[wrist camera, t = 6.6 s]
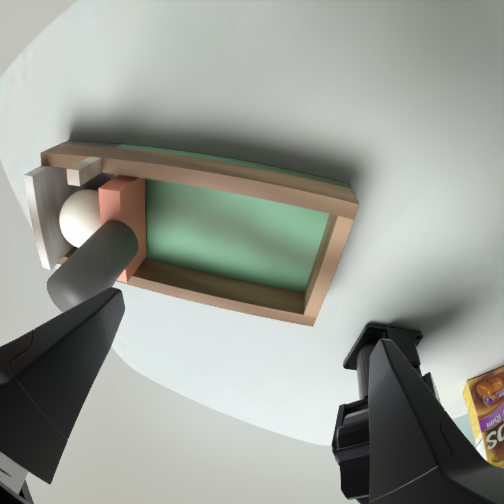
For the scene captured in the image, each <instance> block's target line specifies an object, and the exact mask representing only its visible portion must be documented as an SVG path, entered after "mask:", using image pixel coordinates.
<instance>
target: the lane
mask: <svg viewBox="0 0 504 504" xmlns="http://www.w3.org/2000/svg"><path fill="white" fill-rule="evenodd" d="M41 165H42V166H40V167H38V168H36V169H34V170H32V171H31V172H29V173H27V174H25V175H24V180H25V187H26V194H27V200H28V205H29V211H30V216H31V221H32V226H33V231H34V235H35V239H36V244H37V247H38V251H39V255H40V259H41V263H42V267H44V268H46V269H49V270H51V269H52V268H53V267H54V266H55V265H56V264H57V263H58V264H61V265H62V264H63V263H64V262H65V261H66V260H67V259H68V258H69V257H70V256H71V255H72V254H73V253H74V252H75V251H76V250H77V249H78V247H76V246H74V245H72V244H71V243H69V242H68V241H67V240H66V238H65V237H64V235H63V234H62V231H61V228H60V223H59V217H60V212H61V209H62V206H63V204H64V203H65V201H66V200H67V199H68V198H69V197H70V196H71V195H72V194H74V193H75V192H78V191H80V190H86V189H90V190H95V191H98V192H99V190H98V188H100V187H101V186H103V185H104V184H105V183H107V182H108V181H110V180H111V179H113V178H114V177H116V176H117V175H126V176H133V177H140V178H145V217H146V250H147V256H146V258H145V259H144V260H143V262H142V263H141V264H140V266H139V267H138V268H137V270H136V271H135V273H134V274H133V275H132V277H131V278H130V280H129V281H128V282H127V283H125V282H122V281H118V280H116V281H117V282H121V283H124V284H128V285H132V286H135V287H139V288H143V289H146V290H150V291H154V292H158V293H162V294H165V295H169V296H173V297H177V298H181V299H185V300H189V301H194V302H198V303H202V304H206V305H210V306H215V307H219V308H224V309H228V310H233V311H237V312H242V313H246V314H251V315H256V316H261V317H266V318H271V319H276V320H281V321H286V322H291V323H296V324H302V325H307V326H313V325H314V323H315V320H316V318H317V316H318V313H319V311H320V309H321V306H322V304H323V301H324V299H325V296H326V294H327V291H328V289H329V286H330V284H331V281H332V279H333V276H334V274H335V271H336V268H337V266H338V263H339V261H340V258H341V255H342V252H343V250H344V247H345V244H346V241H347V239H348V236H349V233H350V230H351V227H352V224H353V222H354V219H355V216H356V213H357V210H358V207H359V203H358V201H357V199H356V196H355V194H354V192H353V190H352V188H351V186H350V184H347V183H343V182H339V181H335V180H331V179H327V178H323V177H319V176H315V175H311V174H306V173H302V172H297V171H293V170H288V169H283V168H279V167H274V166H269V165H264V164H259V163H254V162H248V161H243V160H237V159H231V158H226V157H220V156H213V155H207V154H200V153H194V152H187V151H179V150H172V149H164V148H155V147H146V146H137V145H126V144H115V143H102V142H87V141H66V142H64V143H61V144H59V145H57V146H55V147H52V148H50V149H48V150H46V151H44V152H41Z"/></svg>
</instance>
